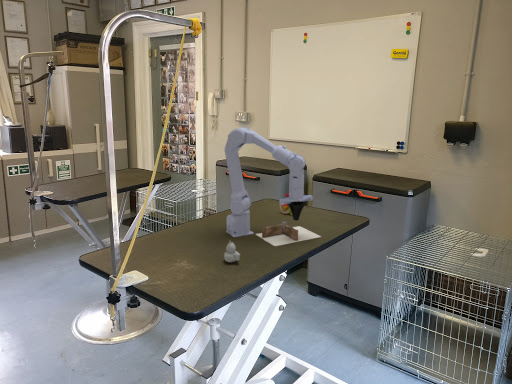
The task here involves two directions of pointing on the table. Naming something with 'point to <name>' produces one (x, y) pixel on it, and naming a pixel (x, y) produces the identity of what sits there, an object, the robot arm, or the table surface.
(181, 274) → the table surface
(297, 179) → the robot arm
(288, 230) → the brown wooden bar
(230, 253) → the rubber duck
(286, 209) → the bird rattle
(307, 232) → the card
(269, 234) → the fixed fence section
